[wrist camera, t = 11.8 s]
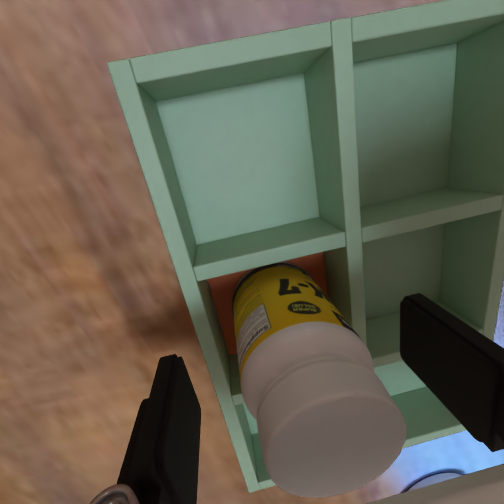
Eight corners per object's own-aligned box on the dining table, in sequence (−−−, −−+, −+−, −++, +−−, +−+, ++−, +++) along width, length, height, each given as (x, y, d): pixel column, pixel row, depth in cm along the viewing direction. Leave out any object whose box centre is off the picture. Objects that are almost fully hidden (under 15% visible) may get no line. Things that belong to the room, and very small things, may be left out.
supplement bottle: (330, 280, 15) (456, 416, 7) (285, 343, 16) (353, 520, 8) (258, 242, 14) (318, 358, 6) (215, 313, 15) (216, 492, 7)
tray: (463, 26, 12) (553, -21, 9) (436, 383, 20) (479, 427, 17) (136, 89, 11) (105, 61, 8) (243, 436, 19) (248, 493, 16)
